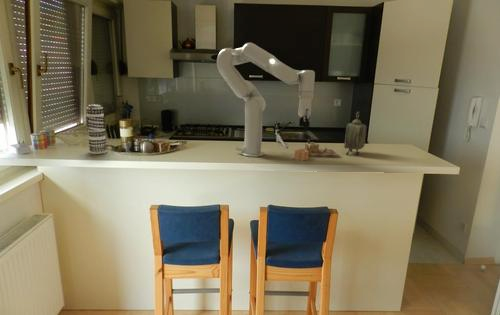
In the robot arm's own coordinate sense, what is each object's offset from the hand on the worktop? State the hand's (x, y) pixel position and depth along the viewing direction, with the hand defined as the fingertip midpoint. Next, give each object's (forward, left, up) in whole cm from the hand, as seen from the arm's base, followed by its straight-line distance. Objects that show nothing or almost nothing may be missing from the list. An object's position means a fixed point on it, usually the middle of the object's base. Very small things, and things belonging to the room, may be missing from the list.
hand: (304, 127), depth 174 cm
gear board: (+12, +11, -17) cm, 23 cm away
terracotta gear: (0, 0, -17) cm, 17 cm away
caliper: (-6, +35, -17) cm, 39 cm away
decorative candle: (-109, +4, -17) cm, 111 cm away
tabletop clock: (+34, +14, -17) cm, 40 cm away
